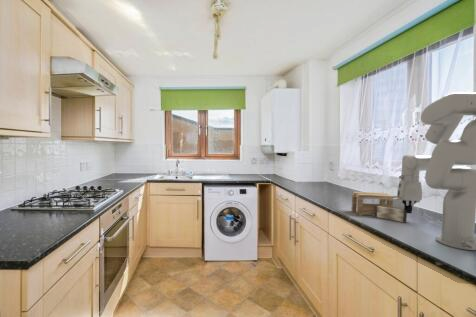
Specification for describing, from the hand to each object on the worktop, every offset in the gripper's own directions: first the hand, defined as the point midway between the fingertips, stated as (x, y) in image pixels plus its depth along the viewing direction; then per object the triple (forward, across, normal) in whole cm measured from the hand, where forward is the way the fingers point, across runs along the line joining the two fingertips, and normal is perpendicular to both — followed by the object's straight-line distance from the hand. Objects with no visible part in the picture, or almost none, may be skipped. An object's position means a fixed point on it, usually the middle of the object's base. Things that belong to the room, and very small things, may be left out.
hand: (407, 212), depth 122 cm
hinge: (+5, +9, +26) cm, 28 cm away
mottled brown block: (+4, -8, +1) cm, 9 cm away
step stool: (+5, -14, +11) cm, 18 cm away
